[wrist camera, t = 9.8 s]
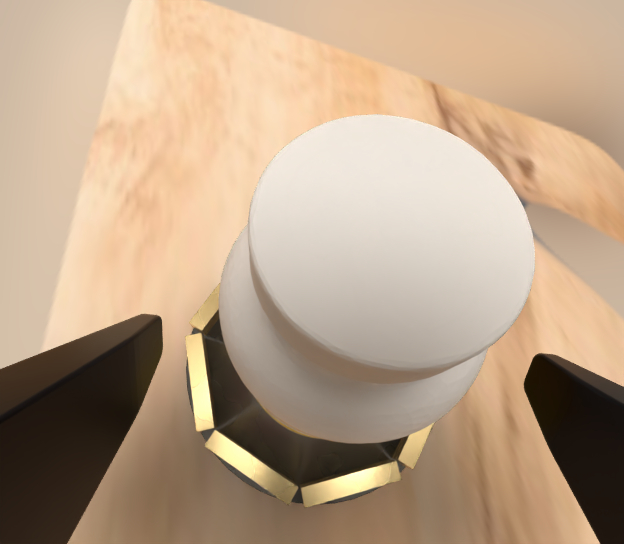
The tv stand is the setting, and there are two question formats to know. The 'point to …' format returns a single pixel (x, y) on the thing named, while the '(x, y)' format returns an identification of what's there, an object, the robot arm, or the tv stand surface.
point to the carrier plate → (279, 432)
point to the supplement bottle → (373, 278)
